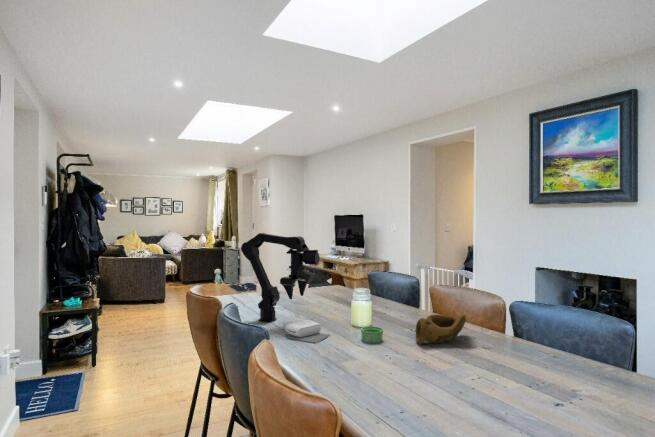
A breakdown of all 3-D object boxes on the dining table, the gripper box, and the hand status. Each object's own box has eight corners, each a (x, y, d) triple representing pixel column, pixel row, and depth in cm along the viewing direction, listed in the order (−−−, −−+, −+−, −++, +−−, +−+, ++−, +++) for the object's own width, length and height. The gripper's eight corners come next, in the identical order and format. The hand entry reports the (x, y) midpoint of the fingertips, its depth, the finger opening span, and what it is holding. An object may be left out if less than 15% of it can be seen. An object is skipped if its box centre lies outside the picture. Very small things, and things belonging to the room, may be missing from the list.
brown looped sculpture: (483, 330, 146) (424, 320, 146) (474, 359, 150) (416, 349, 150) (470, 304, 163) (417, 295, 164) (462, 331, 167) (410, 322, 168)
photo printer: (306, 328, 173) (282, 333, 165) (306, 318, 173) (282, 323, 165) (321, 333, 165) (297, 339, 157) (321, 323, 165) (297, 328, 157)
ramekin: (357, 341, 156) (357, 330, 156) (365, 335, 164) (365, 325, 164) (378, 344, 152) (378, 333, 152) (386, 338, 160) (386, 327, 160)
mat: (286, 338, 159) (286, 337, 159) (301, 331, 170) (301, 330, 170) (316, 343, 153) (316, 342, 153) (330, 335, 163) (330, 334, 163)
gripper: (300, 267, 171) (300, 303, 171) (322, 263, 187) (321, 296, 187) (279, 265, 176) (279, 300, 177) (302, 261, 193) (301, 293, 193)
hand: (296, 297), depth 183 cm, fingers open, 9 cm apart
